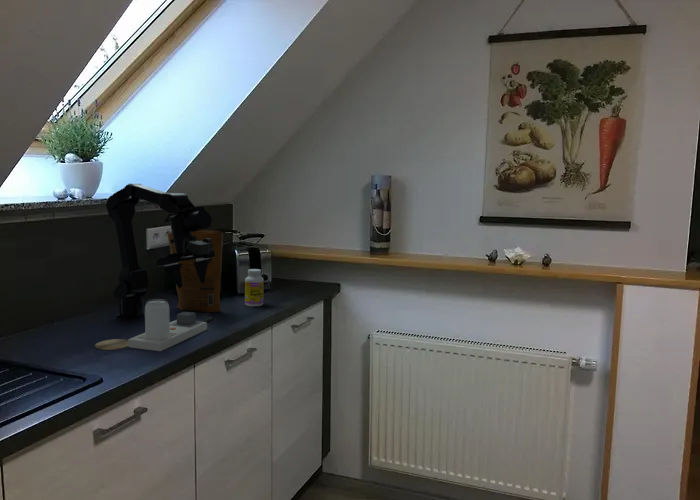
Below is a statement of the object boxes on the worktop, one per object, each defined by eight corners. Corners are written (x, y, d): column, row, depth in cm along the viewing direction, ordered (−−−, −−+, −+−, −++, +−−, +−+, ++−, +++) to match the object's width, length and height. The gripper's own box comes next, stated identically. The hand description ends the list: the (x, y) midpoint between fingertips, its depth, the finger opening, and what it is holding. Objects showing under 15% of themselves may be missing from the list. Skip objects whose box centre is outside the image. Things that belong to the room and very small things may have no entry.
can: (162, 347, 164) (161, 304, 162) (140, 345, 165) (140, 302, 164) (174, 341, 170) (173, 299, 169) (153, 339, 171) (152, 298, 170)
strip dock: (128, 347, 163) (128, 338, 163) (178, 326, 186) (178, 318, 186) (160, 351, 161) (160, 342, 160) (207, 329, 183) (207, 321, 183)
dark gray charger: (176, 324, 180) (176, 314, 179) (184, 321, 184) (184, 311, 183) (188, 325, 179) (188, 315, 178) (195, 322, 182) (195, 312, 182)
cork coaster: (87, 347, 162) (87, 346, 162) (110, 339, 170) (110, 337, 170) (116, 351, 159) (116, 350, 159) (137, 342, 168) (137, 341, 168)
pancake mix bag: (219, 314, 202) (218, 231, 198) (167, 310, 206) (166, 228, 202) (227, 310, 208) (227, 229, 205) (177, 306, 213) (176, 227, 209)
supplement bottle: (248, 307, 213) (248, 271, 211) (242, 303, 219) (242, 268, 217) (266, 306, 216) (266, 270, 214) (260, 302, 222) (260, 268, 220)
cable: (198, 327, 185) (198, 324, 185) (195, 327, 186) (195, 323, 185) (213, 319, 196) (213, 316, 195) (210, 319, 196) (210, 316, 196)
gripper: (177, 232, 170) (187, 286, 170) (223, 227, 185) (232, 277, 186) (150, 238, 175) (161, 291, 175) (197, 233, 191) (206, 282, 191)
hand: (192, 285), depth 182 cm, fingers open, 9 cm apart
